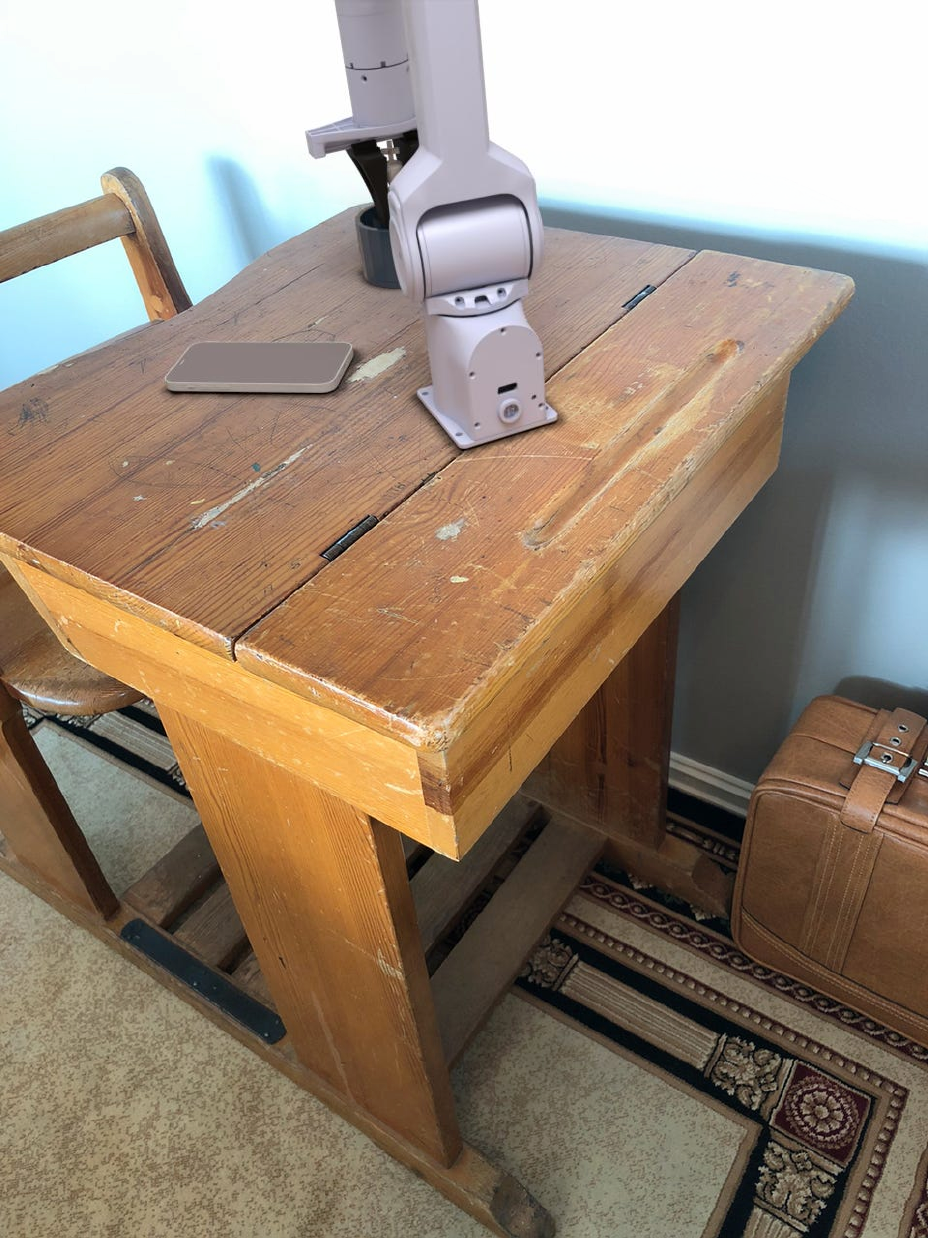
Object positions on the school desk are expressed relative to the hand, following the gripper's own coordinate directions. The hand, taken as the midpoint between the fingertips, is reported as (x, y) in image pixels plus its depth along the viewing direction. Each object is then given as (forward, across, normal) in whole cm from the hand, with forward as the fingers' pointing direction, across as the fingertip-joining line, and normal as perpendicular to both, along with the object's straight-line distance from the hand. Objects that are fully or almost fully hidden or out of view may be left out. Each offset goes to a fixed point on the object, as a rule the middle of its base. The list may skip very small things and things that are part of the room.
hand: (399, 220), depth 93 cm
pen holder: (+5, 0, 0) cm, 5 cm away
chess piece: (+3, 0, 0) cm, 3 cm away
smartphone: (+5, +18, +13) cm, 23 cm away
